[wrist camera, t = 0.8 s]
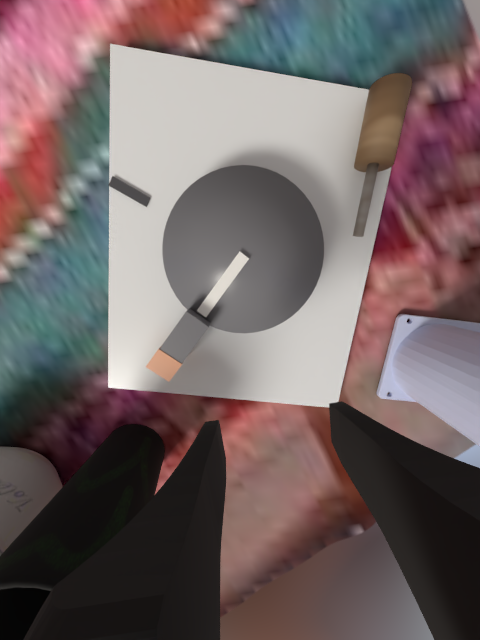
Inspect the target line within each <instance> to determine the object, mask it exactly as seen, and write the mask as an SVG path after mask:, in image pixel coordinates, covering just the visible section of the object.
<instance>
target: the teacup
mask: <svg viewBox="0 0 480 640" xmlns="http://www.w3.org/2000/svg"><path fill="white" fill-rule="evenodd" d="M61 488H62V483H61V481H60V478H59V476H58V473H57V471H56V469H55V467H54V466H53V465H52V463H51V462H50V461H49V460H48V459H47V458H45V457H44V456H43V455H41V454H39V453H37V452H35V451H32V450H29V449H25V448H19V447H0V555H1V554H2V553H3V552H4V551H5V550H6V549H7V548H8V547H9V546H10V544H11V543H12V542H13V541H14V540H15V539H16V538H17V537H18V536H19V535H20V534H21V532H22V531H23V530H24V529H25V528H26V527H27V526H28V525H29V524H30V523H31V521H32V520H33V519H34V518H35V517H36V516H37V515H38V514H39V513H40V512H41V510H42V509H43V508H44V507H45V506H46V505H47V504H48V503H49V502H50V501H51V499H52V498H53V497H54V496H55V495H56V494H57V493H58V492H59V491H60V490H61Z"/></svg>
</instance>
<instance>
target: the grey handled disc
mask: <svg viewBox="0 0 480 640" xmlns="http://www.w3.org/2000/svg"><path fill="white" fill-rule="evenodd" d="M162 255H163V263H164V269H165V272H166V276H167V279H168V281H169V284H170V286H171V288H172V290H173V292H174V293H175V295H176V297H177V298H178V300H179V301H180V302H181V304H182V305H183V306H184V307H185V308H186V309H187V311H186V312H185V314H184V315H183V317H182V318H181V319H180V321H179V322H178V324H177V325H176V326H175V328H174V329H173V331H172V332H171V333H170V335H169V336H168V338H167V339H166V340H165V342H164V343H163V344H162V346H161V347H160V348H159V349H158V350H157V352H156V353H155V354H154V356H153V357H152V359H151V360H150V361H149V363H148V364H147V366H146V368H148V369H150V370H151V371H153V372H154V373H156V374H157V375H159V376H160V377H162V378H164V379H165V380H167V381H168V382H170V380H171V379H172V378H173V376H174V375H175V373H176V372H177V371H178V369H179V368H180V367H181V365H182V364H183V362H184V360H185V359H186V357H187V356H188V355H189V353H190V352H191V351H192V349H193V348H194V347H195V345H196V344H197V343H198V341H199V340H200V339H201V337H202V336H203V334H204V333H205V332H206V330H207V329H208V328H209V326H212V327H214V328H216V329H219V330H223V331H227V332H232V333H255V332H259V331H264V330H267V329H270V328H273V327H275V326H277V325H279V324H281V323H283V322H284V321H286V320H287V319H289V318H290V317H292V316H293V315H294V314H295V313H296V312H298V311H299V310H300V308H301V307H302V306H303V305H304V304H305V303H306V301H307V300H308V299H309V297H310V296H311V294H312V292H313V291H314V289H315V287H316V285H317V282H318V280H319V277H320V274H321V270H322V266H323V259H324V239H323V232H322V228H321V224H320V221H319V219H318V216H317V214H316V211H315V209H314V208H313V206H312V204H311V202H310V201H309V200H308V198H307V197H306V196H305V194H304V193H303V192H302V191H301V190H300V189H299V188H298V187H297V186H296V185H295V184H294V183H292V182H291V181H290V180H289V179H287V178H286V177H284V176H282V175H280V174H279V173H277V172H274V171H272V170H269V169H266V168H262V167H258V166H251V165H236V166H229V167H224V168H220V169H218V170H215V171H212V172H210V173H208V174H206V175H204V176H203V177H201V178H199V179H198V180H197V181H195V182H194V183H193V184H191V185H190V186H189V187H188V188H187V189H186V190H185V191H184V192H183V194H182V195H181V196H180V198H179V199H178V200H177V202H176V203H175V205H174V207H173V209H172V210H171V212H170V215H169V217H168V220H167V222H166V226H165V230H164V235H163V244H162Z"/></svg>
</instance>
